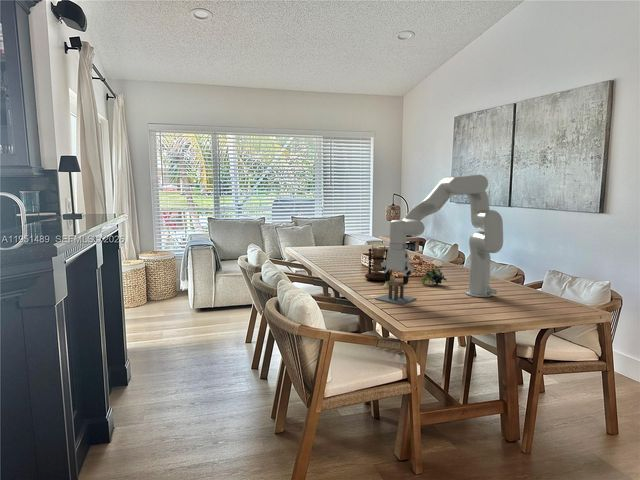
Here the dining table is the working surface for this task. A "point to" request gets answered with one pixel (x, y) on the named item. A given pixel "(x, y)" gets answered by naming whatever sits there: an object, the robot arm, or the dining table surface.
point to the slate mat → (399, 301)
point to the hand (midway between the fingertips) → (396, 282)
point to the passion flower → (433, 276)
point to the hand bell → (388, 281)
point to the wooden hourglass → (376, 263)
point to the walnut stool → (396, 289)
